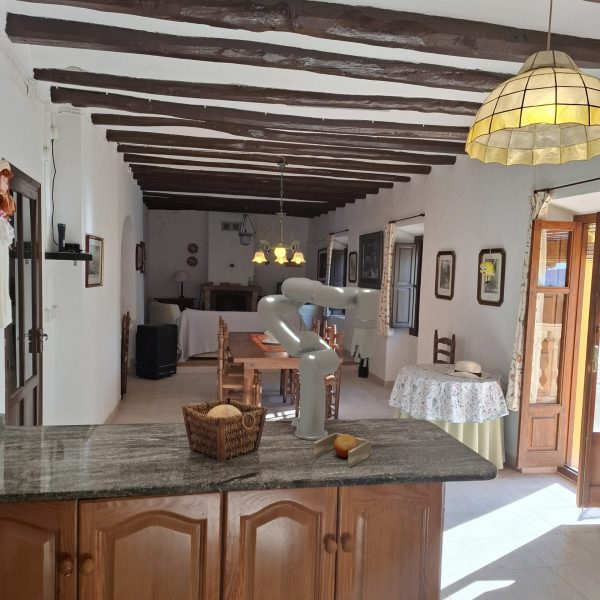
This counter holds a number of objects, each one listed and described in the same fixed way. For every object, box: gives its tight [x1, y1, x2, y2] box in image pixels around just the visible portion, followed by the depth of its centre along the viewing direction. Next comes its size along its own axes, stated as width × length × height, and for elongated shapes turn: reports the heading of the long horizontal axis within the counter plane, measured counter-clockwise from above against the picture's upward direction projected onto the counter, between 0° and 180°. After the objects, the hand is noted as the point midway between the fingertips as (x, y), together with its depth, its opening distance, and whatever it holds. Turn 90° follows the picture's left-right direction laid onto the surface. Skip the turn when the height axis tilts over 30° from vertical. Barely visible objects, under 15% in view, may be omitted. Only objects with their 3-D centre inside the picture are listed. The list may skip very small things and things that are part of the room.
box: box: [312, 431, 372, 469], centre depth 171 cm, size 14×14×5 cm
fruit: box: [333, 433, 358, 459], centre depth 172 cm, size 8×8×8 cm
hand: (363, 377), depth 177 cm, fingers closed
